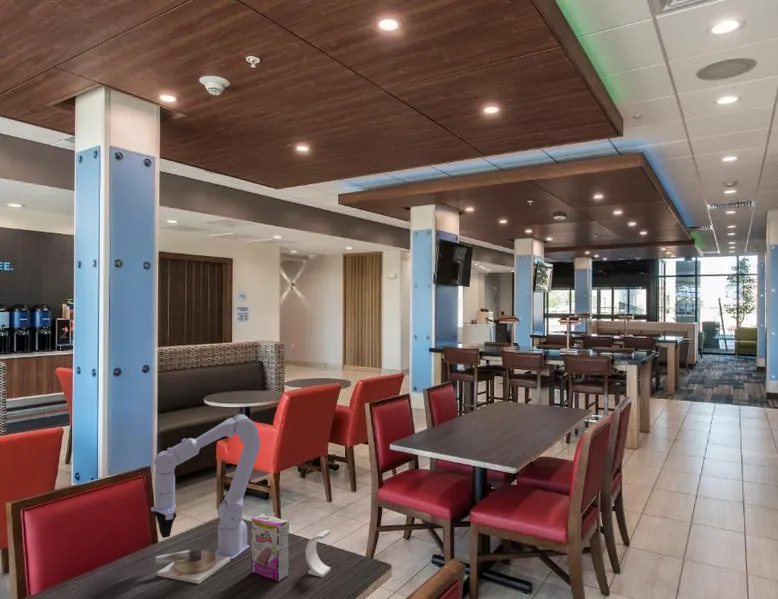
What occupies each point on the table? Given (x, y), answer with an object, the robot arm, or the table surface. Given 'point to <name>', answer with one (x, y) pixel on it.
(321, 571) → the headphone stand
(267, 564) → the candy bar box
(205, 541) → the table surface
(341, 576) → the table surface
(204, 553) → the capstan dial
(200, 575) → the base plate
